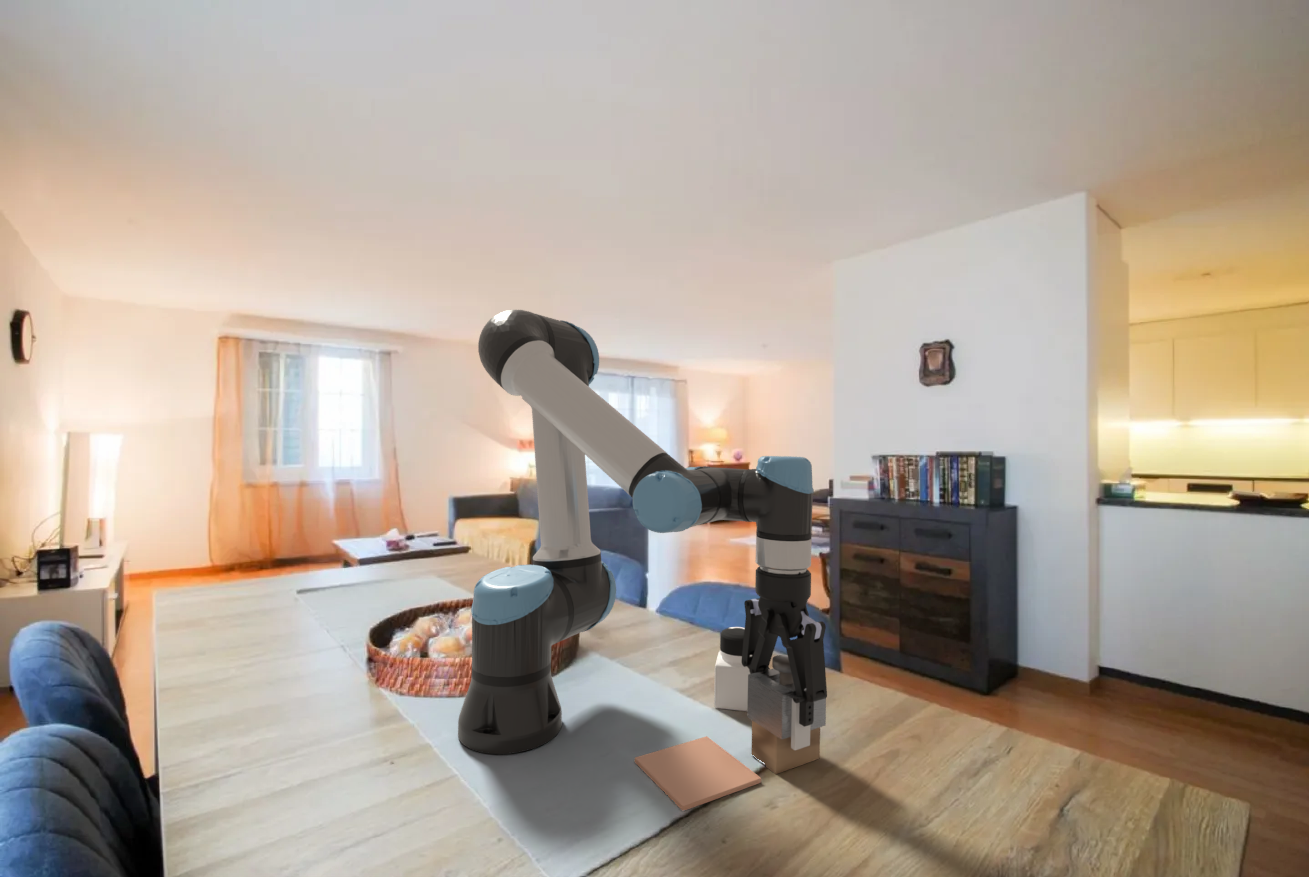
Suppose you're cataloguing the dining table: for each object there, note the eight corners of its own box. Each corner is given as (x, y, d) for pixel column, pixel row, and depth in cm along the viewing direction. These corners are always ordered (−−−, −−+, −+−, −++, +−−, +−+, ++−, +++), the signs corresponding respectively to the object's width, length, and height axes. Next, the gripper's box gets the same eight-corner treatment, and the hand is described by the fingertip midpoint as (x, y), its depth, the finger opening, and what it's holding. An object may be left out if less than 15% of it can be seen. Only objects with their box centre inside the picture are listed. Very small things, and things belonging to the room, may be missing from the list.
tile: (634, 761, 79) (634, 757, 79) (706, 740, 86) (706, 736, 86) (682, 811, 69) (682, 806, 69) (760, 782, 75) (761, 777, 75)
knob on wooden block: (751, 756, 81) (753, 659, 81) (793, 741, 86) (795, 649, 86) (776, 774, 77) (777, 671, 77) (819, 758, 81) (821, 661, 81)
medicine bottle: (758, 713, 94) (759, 639, 94) (713, 708, 96) (715, 635, 96) (759, 694, 101) (760, 625, 101) (717, 690, 103) (719, 622, 103)
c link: (781, 739, 76) (782, 693, 76) (747, 717, 82) (748, 674, 82) (825, 725, 80) (826, 681, 80) (789, 704, 86) (790, 664, 86)
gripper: (860, 580, 74) (857, 761, 74) (756, 552, 91) (754, 699, 91) (817, 587, 70) (814, 777, 70) (718, 556, 88) (715, 710, 88)
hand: (780, 733), depth 81 cm, fingers closed on c link, 7 cm apart
